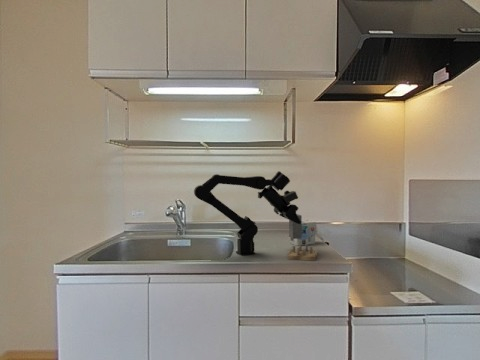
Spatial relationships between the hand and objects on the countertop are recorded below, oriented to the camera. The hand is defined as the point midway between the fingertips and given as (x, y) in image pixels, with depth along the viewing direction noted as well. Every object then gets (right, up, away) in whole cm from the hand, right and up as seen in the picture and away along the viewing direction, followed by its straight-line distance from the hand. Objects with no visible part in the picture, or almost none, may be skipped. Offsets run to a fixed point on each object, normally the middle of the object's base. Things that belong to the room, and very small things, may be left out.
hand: (298, 222), depth 163 cm
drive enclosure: (-1, -7, 0) cm, 7 cm away
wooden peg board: (0, -13, -11) cm, 17 cm away
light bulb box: (+5, -12, +16) cm, 21 cm away
